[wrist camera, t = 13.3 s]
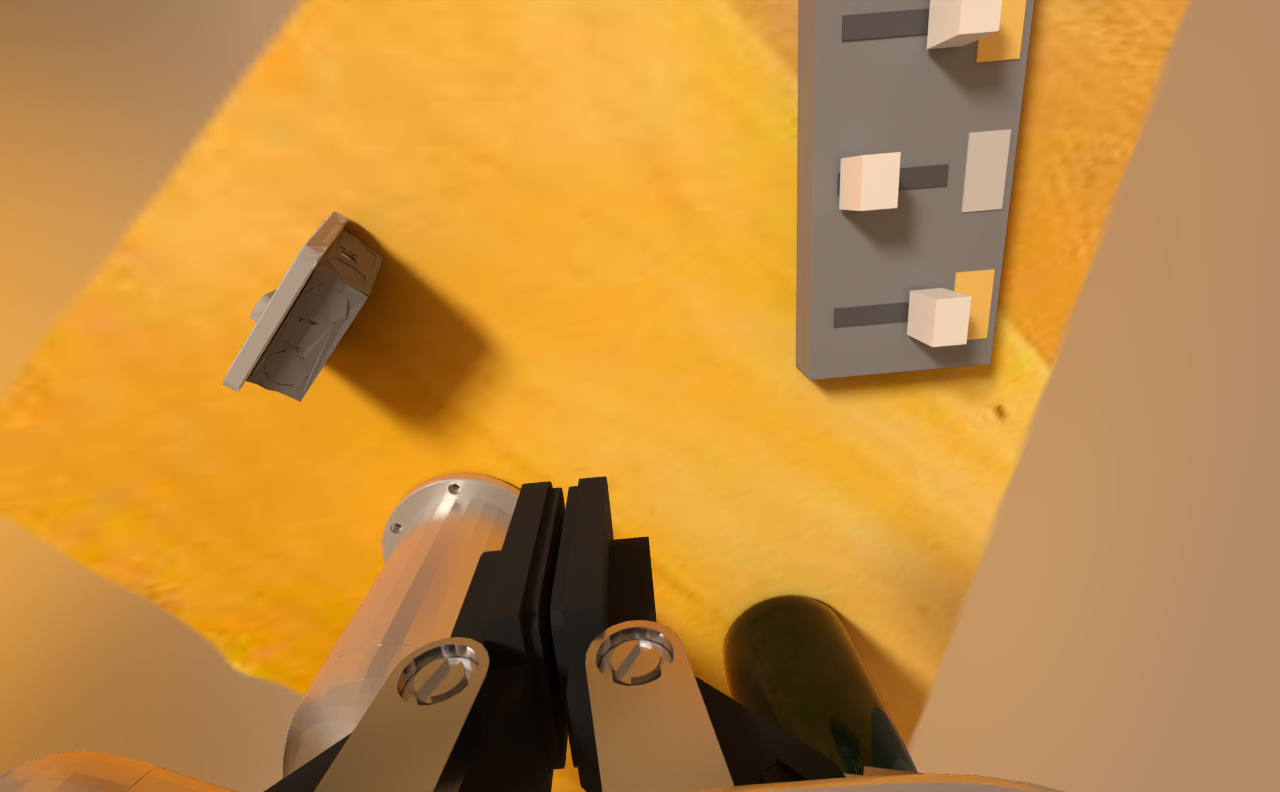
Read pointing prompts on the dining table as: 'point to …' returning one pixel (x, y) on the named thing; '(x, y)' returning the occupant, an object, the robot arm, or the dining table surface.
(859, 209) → the slider middle
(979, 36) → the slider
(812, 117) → the switch panel
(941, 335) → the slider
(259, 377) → the electrical switch
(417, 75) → the dining table surface
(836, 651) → the beer bottle
